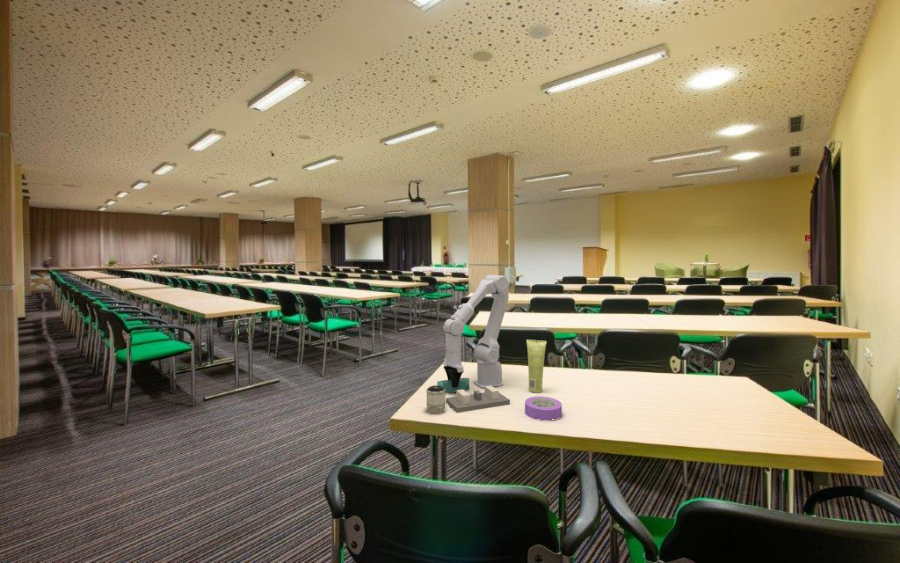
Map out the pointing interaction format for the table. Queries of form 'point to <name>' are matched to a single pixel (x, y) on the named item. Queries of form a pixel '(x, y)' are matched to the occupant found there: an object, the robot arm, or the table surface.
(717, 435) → the table surface
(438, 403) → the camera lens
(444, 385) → the teal dome-capped pillar
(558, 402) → the masking tape
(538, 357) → the tube
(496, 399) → the display stand
